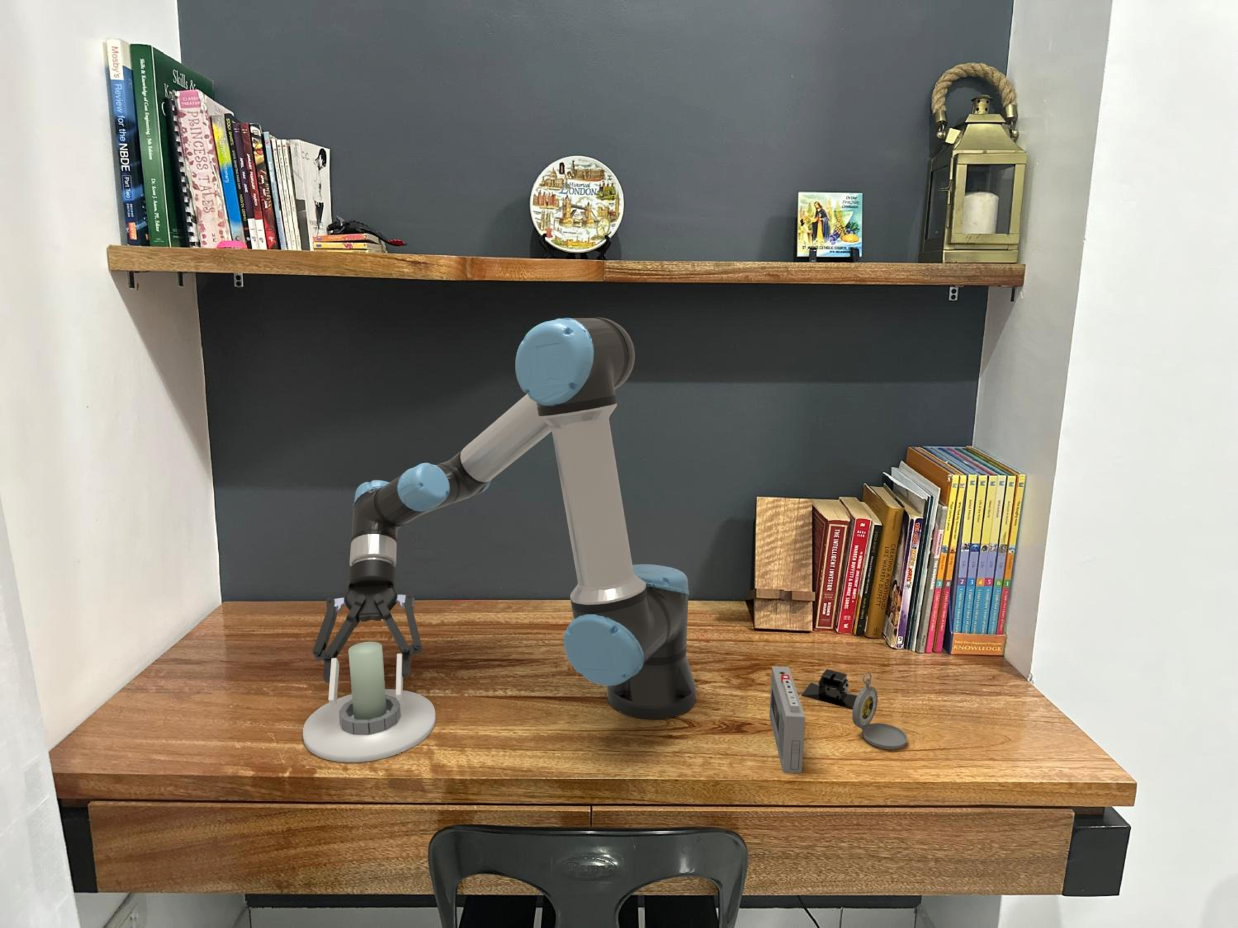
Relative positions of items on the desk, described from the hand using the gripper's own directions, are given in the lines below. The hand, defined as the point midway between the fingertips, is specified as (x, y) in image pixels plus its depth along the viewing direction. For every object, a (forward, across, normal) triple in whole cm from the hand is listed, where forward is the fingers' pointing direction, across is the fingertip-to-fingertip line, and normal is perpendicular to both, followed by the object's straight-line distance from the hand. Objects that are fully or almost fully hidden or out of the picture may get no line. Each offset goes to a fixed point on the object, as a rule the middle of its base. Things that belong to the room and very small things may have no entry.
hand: (366, 699), depth 122 cm
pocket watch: (+14, -78, +4) cm, 80 cm away
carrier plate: (+2, 0, -7) cm, 7 cm away
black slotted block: (+5, -77, -6) cm, 77 cm away
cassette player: (+13, -63, +4) cm, 65 cm away
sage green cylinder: (+1, 0, -6) cm, 6 cm away
